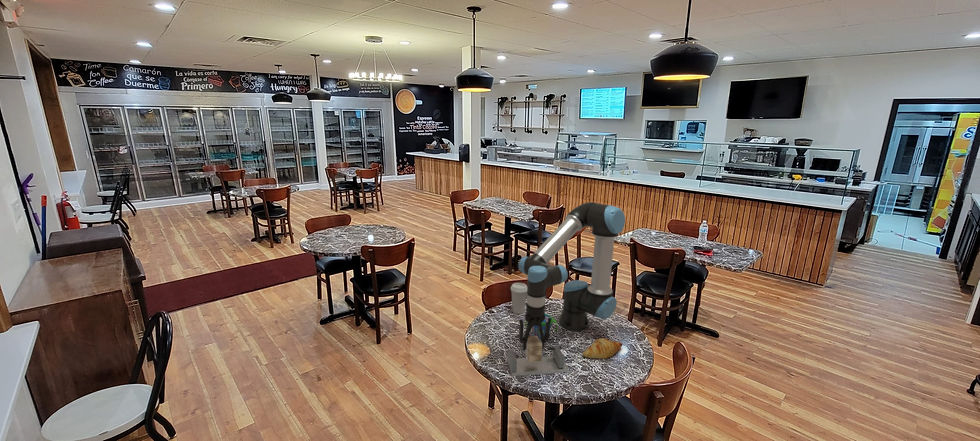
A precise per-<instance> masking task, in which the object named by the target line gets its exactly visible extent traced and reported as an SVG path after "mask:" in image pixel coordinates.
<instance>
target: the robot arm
mask: <svg viewBox="0 0 980 441" xmlns="http://www.w3.org/2000/svg"><path fill="white" fill-rule="evenodd" d="M625 224H626V216H625V213H624V211H623V209H621V208H620V207H617V206H614V205H609V204H605V203H599V202H598V203H597V202H593V201H590V202H584V203H582V204H579V205H578V206H576V207H575V208H573V209H572V210H571V211H569V212H568V213H567V214H566V216H565V217H564V221H563V222H561V224H560V225H559V226H558V227H557V228H556V229H555V230H554V231H553V232H552V234H550V235H549V237H547V238H546V240H545V241H544V242H542V243H541V244H540V246H539V247H538V248H537V249H536V250H535V251H534V252H532V255H530V256H524V257H521V259H519V261H518V264H517V266H518V270H519V271H520V272H521V273H522V274H524V275H526V276H527V277H526V278H527V283H526V285H527V296H526V303H525V315H524V316H522V317H521V316H519V317H518V322H519V327H518V328H519V329H518V339H519V342H520V343H522V348H523V350H524V356H525V358H528V346H529V343H528V341H527V340H528V337H529V336H530V335H531V331H532V327H533V326H538V329H539V333H540V338H541V339H539V340H540V342H541V344H542V349H544V348H545V343H546V341H550V333H549V332H551V328H550V322H551V318H550V316H551V315H550V316H545V314H546V313H545V311H546V310H545V308H546V295H547V294H546V293H547V289H549V288H551V287H554V286H555V287H556V286H557V285H561V284H562V283H565V282H566V281H567V279H568V275H569V274H568V271H567V268H566V267H565V266H564V265H561V264H559V265H555V266H554V265H551V264H548V263H549V262H550V261H551V260H552V259H553V258H554V257H555V255H556V254H558V253H559V251H561V249H562V248H564V246H565V245H566V244H567V243H568V242H569V240H570V239H572V237H573V236H574V235H575V234H576V233H577V232H581V231H582V230H583V229H584V228H586V227H587V228H592V229H591V230H592V231H591V234H592V236H593V237H594V244H593V257H592V259H593V260H592V268H591V277H590V278H591V279H590V280H591V281H590V285H589V283H588V282H587V281H585V280H581V279H579V280H578V279H575V280H569V281H567V282H566V283H565V284H564V287H563V288H564V289H563V303H562V304H563V305H562V311H561V313H560V315H559V318H558V325H559V326H560V328H562V329H564V330H566V331H570V332H576V333H577V332H579V333H580V332H584V331H586V330H588V328H590V326H589V325H590V322H589V317H588V314H589V315H592V316H594V317H595V318H599V319H601V320H606V319H608V318H610V317H611V316H612V315H613V314H614V312H615V310H616V308H617V303H618V301H617V298H616V297H614V296H613V289H612V288H611V287H610V286H611V277H612V268H613V267H612V266H613V257H614V246H615V245H614V244H615V239H616V238H618V237H619V234H621V233H622V232H623V231H624V227H625V226H626V225H625ZM544 319H545V336H544V334H543V330H542V324H541V323H542V322H543V321H544ZM526 321H527V325H526V329H524V328H525V322H526ZM524 330H525V331H524Z"/></svg>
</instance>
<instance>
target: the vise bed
mask: <svg viewBox="0 0 980 441" xmlns="http://www.w3.org/2000/svg"><path fill="white" fill-rule="evenodd" d="M516 360H517V372H511V369H510V365H509V362H508V358H507V359H506V363H507V366H508V368H509V371H510V375H511V377H519V376H521V377H522V376H533V375H546V374H547V375H548V374H558V373H569V367H568V365H567V364H566V362H565V360H564V368H559V367H558V365H557V363H556V361H555V359H554V357H553V355H551V356H550V355H549V356H547V355H546V356H542V358H541V361H534V362H529V360H528V357H527V358H526V357H521V358H520V357H519V358H518V357H516Z"/></svg>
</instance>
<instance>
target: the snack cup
mask: <svg viewBox="0 0 980 441" xmlns="http://www.w3.org/2000/svg"><path fill="white" fill-rule="evenodd" d="M545 316H550V318H551V322H550V329H551V328H552V325H553V323H554V324H555V326H556V329H555V333H558V329H559V327H558V325H559V323H558V322H557V320H556V319H555V318H553V316H552V315H550V314H549V313H545ZM527 323H528V322H527V321H526V320H525V323H524V328H525V329H524V330H526V328H527ZM541 324H542V330H543V334H544V336H545V319H544V321H543V322H542V323H541ZM531 331H532V336H538V338H539V339H541V338H540V333H539V329H538V326H533V327H532V329H531ZM550 332H551V331H550ZM550 332H549V334H550Z"/></svg>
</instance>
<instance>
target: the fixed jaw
mask: <svg viewBox="0 0 980 441" xmlns="http://www.w3.org/2000/svg"><path fill="white" fill-rule="evenodd" d="M514 352H515V351H514V349H513V348H509V349H507V359H508V362H509V365H510V369H511V372H517V360H516V358H517V357H516V355H515V353H514ZM510 369H509V370H510ZM511 372H510V373H511Z"/></svg>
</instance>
